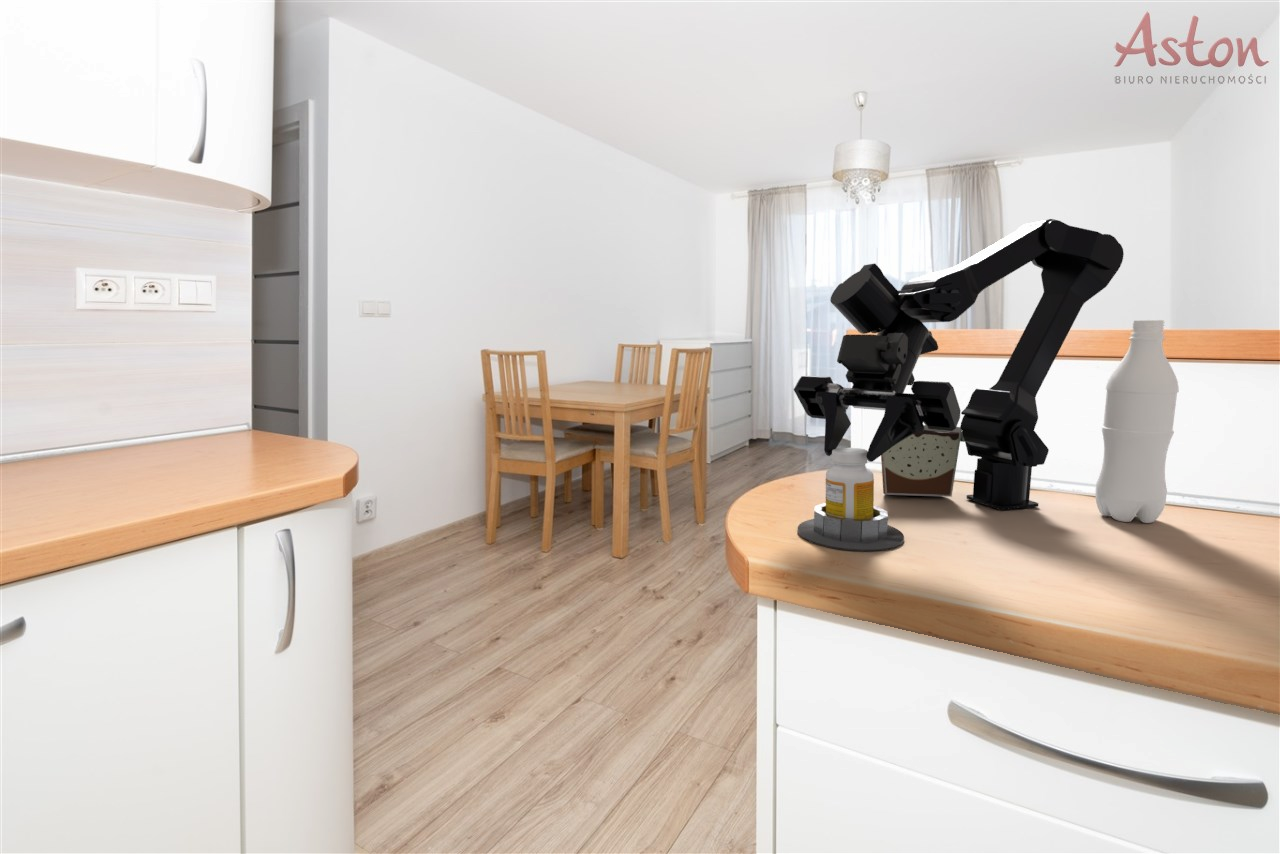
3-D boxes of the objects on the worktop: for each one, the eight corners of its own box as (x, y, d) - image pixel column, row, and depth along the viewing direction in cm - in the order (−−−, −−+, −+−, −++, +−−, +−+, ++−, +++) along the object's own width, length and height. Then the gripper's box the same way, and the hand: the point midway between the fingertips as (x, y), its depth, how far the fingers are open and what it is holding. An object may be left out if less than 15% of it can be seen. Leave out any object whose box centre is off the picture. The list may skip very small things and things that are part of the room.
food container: (943, 491, 98) (946, 425, 97) (962, 497, 92) (965, 427, 91) (862, 488, 98) (864, 423, 98) (874, 494, 92) (877, 424, 92)
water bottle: (1167, 529, 77) (1192, 319, 74) (1095, 520, 81) (1115, 320, 77) (1158, 515, 83) (1181, 320, 80) (1091, 507, 87) (1109, 321, 84)
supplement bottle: (872, 525, 78) (873, 446, 77) (874, 539, 73) (875, 454, 72) (826, 523, 80) (826, 446, 78) (824, 536, 74) (824, 454, 73)
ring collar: (865, 516, 83) (866, 495, 83) (926, 546, 72) (928, 521, 72) (780, 524, 81) (781, 501, 80) (830, 555, 69) (831, 529, 69)
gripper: (803, 312, 82) (752, 405, 76) (958, 307, 69) (911, 419, 63) (831, 371, 88) (786, 461, 82) (977, 376, 76) (937, 484, 69)
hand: (847, 456), depth 74 cm, fingers open, 5 cm apart
